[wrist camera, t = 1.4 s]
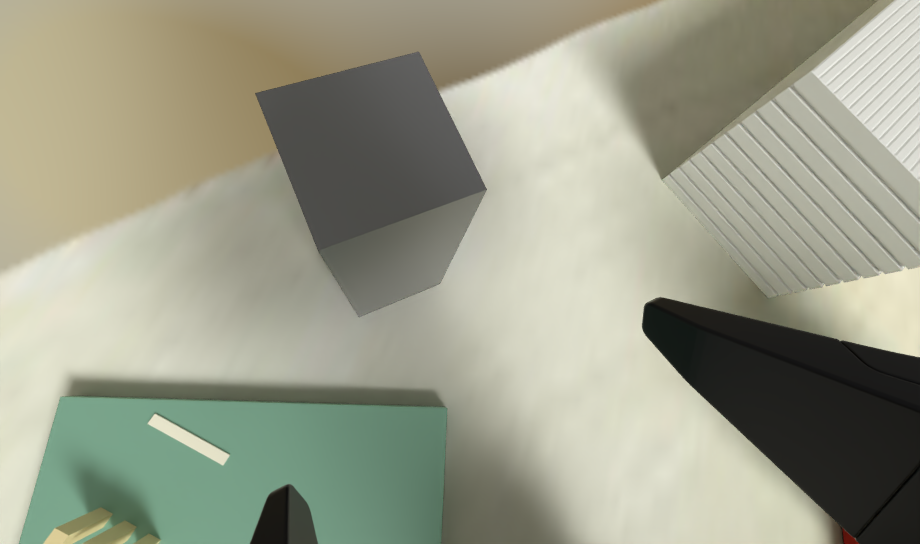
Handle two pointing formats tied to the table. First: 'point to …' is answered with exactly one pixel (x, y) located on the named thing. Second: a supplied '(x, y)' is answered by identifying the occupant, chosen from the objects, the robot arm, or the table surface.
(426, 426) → the board
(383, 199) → the block
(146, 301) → the table surface
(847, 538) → the toy robot
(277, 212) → the table surface
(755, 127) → the stack of papers
